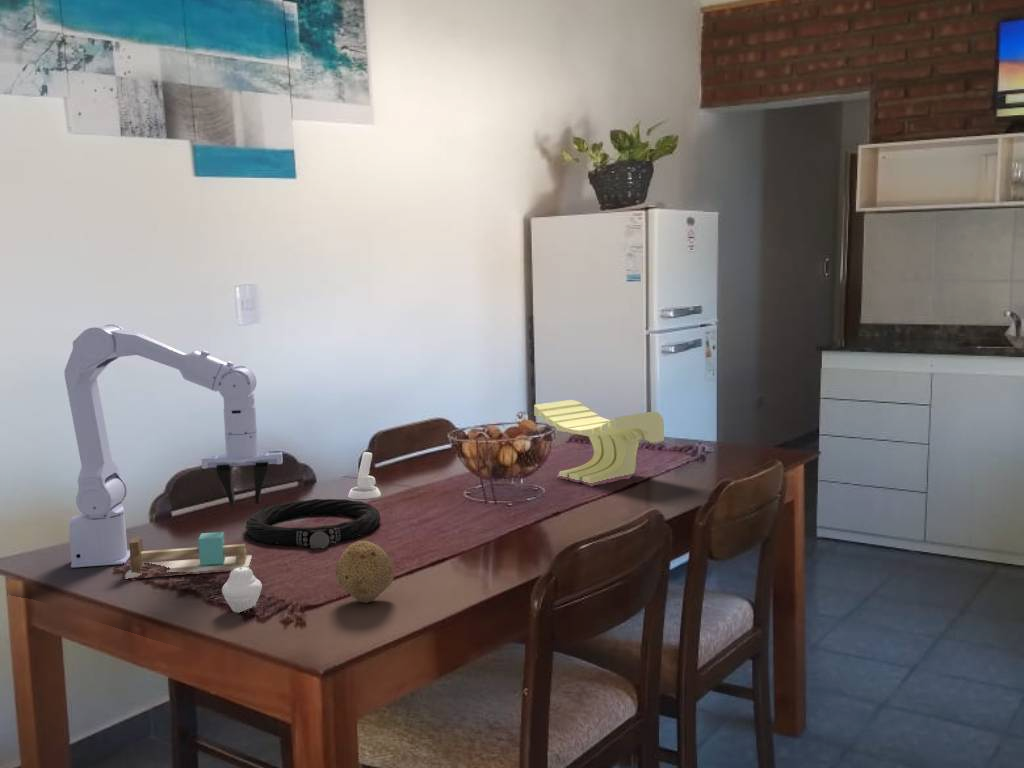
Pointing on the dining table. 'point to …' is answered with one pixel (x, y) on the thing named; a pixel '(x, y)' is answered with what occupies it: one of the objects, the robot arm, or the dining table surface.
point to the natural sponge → (364, 571)
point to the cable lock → (312, 535)
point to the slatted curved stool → (603, 437)
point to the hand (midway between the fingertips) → (245, 503)
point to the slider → (211, 548)
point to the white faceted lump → (241, 589)
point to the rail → (184, 565)
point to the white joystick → (365, 481)
